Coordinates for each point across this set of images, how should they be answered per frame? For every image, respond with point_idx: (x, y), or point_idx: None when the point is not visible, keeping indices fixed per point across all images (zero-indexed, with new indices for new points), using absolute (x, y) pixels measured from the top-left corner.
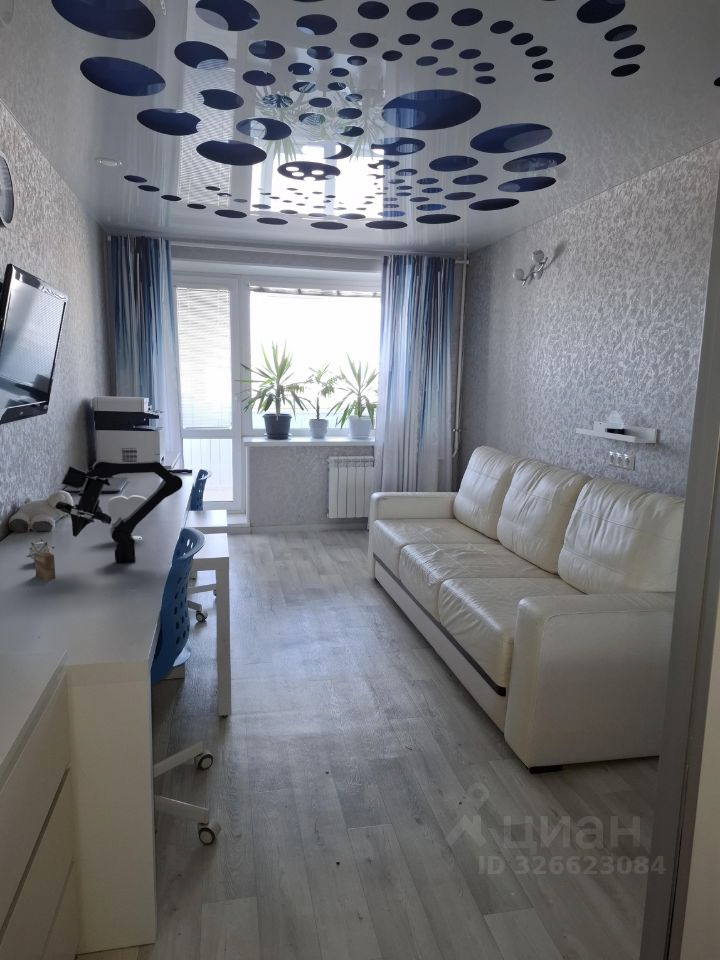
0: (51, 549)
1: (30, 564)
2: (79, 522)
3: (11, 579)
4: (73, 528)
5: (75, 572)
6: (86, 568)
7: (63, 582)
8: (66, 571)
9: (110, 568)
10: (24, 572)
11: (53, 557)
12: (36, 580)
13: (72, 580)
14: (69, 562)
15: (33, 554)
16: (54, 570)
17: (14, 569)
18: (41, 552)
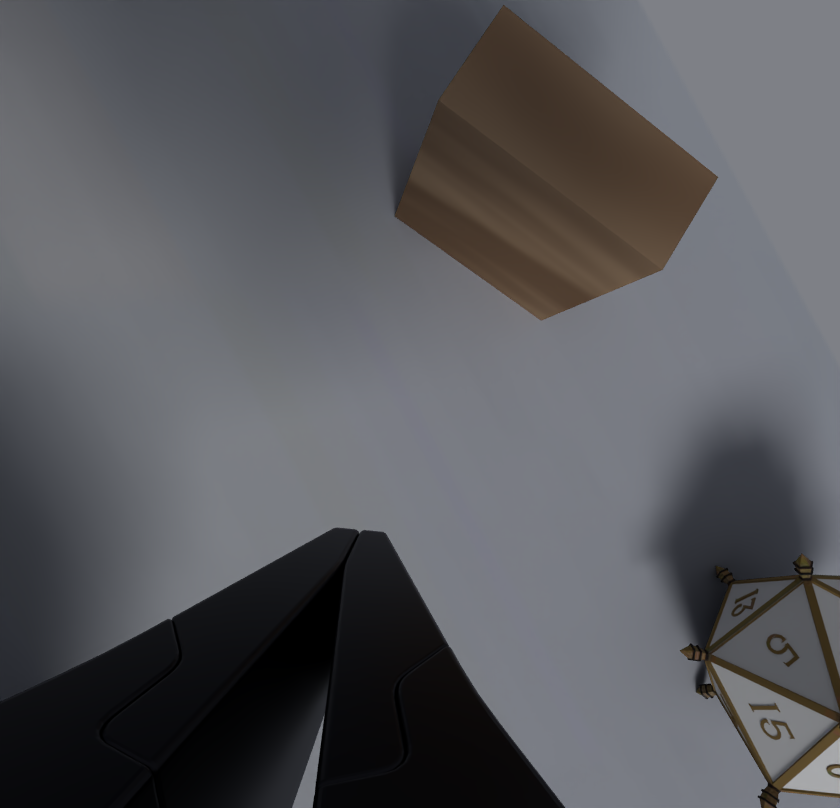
0: (757, 747)
1: (788, 566)
2: (73, 730)
3: (707, 164)
4: (385, 598)
5: (302, 391)
6: (262, 527)
7: (256, 92)
8: (400, 412)
9: (8, 564)
10: (715, 348)
11: (436, 113)
12: None
13: (204, 152)
14: (516, 683)
15: (835, 576)
16: (407, 184)
17: (825, 418)
18: (654, 212)
